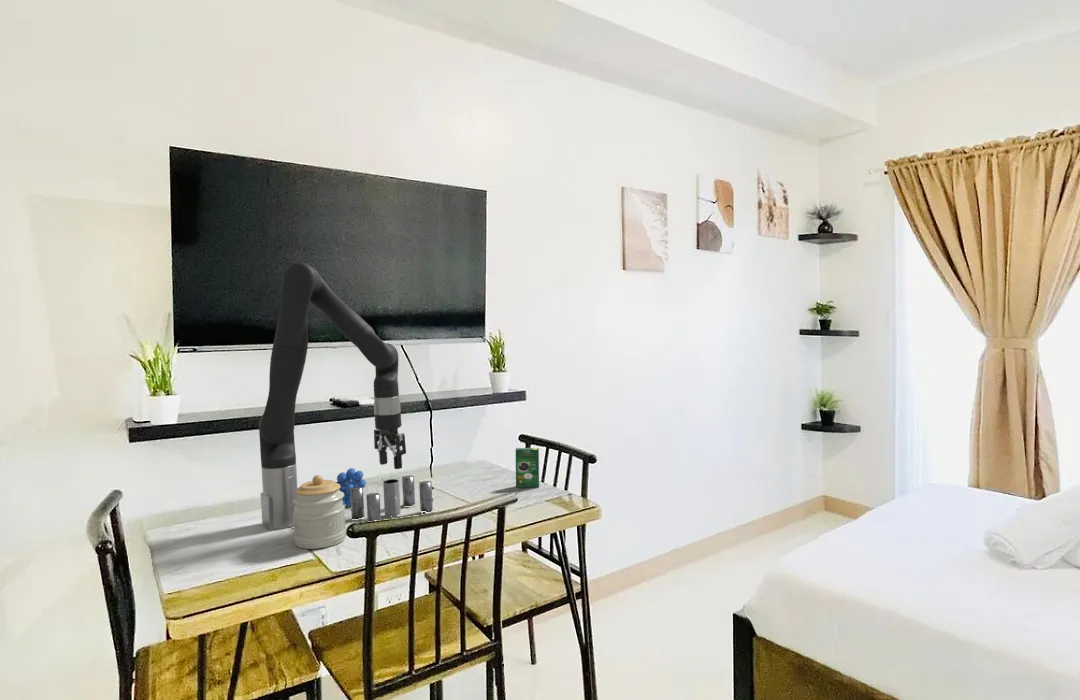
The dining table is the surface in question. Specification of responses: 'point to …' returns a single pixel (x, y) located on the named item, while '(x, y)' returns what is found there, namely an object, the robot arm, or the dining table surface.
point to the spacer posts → (374, 499)
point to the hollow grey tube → (391, 498)
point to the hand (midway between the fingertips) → (390, 466)
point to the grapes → (350, 483)
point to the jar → (319, 514)
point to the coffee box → (527, 467)
